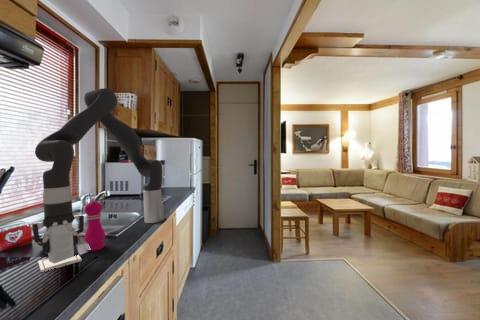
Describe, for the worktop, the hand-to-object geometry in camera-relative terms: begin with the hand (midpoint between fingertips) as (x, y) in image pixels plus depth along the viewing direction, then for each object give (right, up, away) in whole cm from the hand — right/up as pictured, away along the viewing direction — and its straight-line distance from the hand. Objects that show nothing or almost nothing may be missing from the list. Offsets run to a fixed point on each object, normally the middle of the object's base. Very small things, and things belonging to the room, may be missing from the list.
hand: (60, 249), depth 80 cm
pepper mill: (+3, -5, +15) cm, 16 cm away
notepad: (-3, -6, +3) cm, 7 cm away
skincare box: (0, -4, 0) cm, 4 cm away
